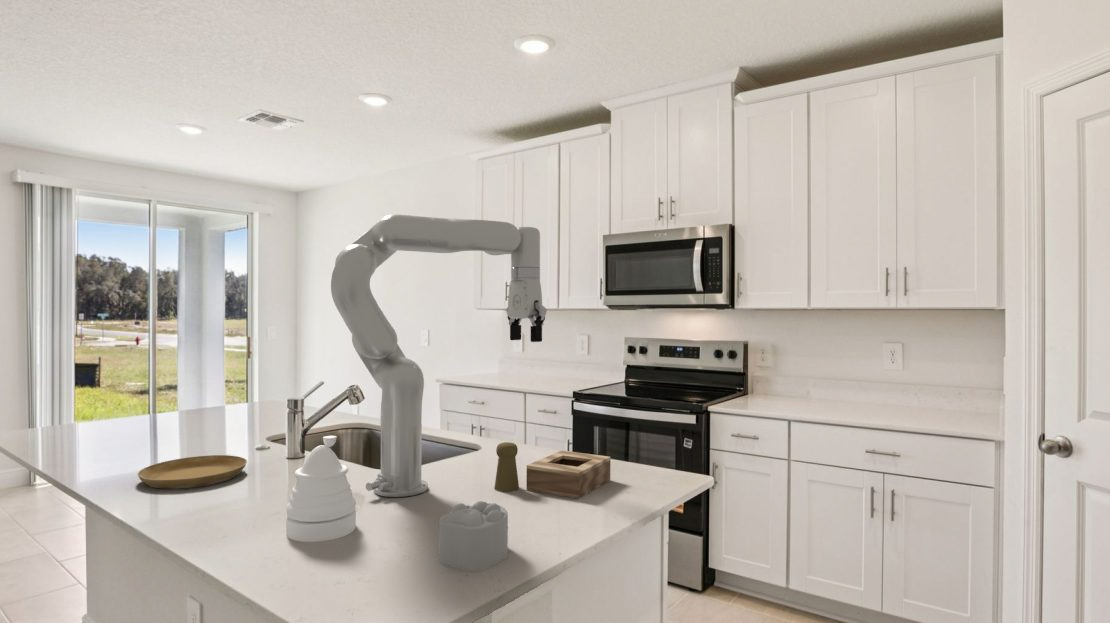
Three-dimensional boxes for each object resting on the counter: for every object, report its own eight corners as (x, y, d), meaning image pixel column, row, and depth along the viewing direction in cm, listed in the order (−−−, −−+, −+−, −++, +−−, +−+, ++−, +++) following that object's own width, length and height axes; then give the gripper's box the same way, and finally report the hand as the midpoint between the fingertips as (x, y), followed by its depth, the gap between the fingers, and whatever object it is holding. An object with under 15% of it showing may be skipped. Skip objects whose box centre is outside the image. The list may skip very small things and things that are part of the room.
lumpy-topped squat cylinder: (430, 562, 109) (431, 512, 109) (473, 538, 121) (474, 492, 121) (481, 574, 105) (481, 522, 105) (521, 548, 116) (521, 500, 116)
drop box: (578, 498, 146) (578, 472, 146) (526, 490, 152) (526, 465, 152) (610, 480, 161) (610, 456, 161) (561, 473, 168) (562, 450, 168)
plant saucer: (123, 496, 146) (123, 482, 146) (152, 470, 169) (152, 458, 169) (239, 487, 154) (239, 474, 154) (252, 464, 177) (252, 452, 177)
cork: (521, 485, 157) (521, 440, 156) (517, 492, 151) (517, 446, 150) (496, 484, 157) (497, 440, 157) (492, 491, 151) (492, 445, 151)
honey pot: (325, 515, 134) (326, 429, 133) (369, 526, 127) (369, 436, 127) (271, 533, 123) (271, 440, 122) (316, 546, 116) (316, 448, 116)
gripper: (496, 275, 170) (496, 339, 170) (532, 273, 156) (532, 343, 156) (519, 276, 174) (519, 338, 174) (556, 274, 160) (556, 341, 160)
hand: (525, 340), depth 165 cm, fingers open, 9 cm apart
